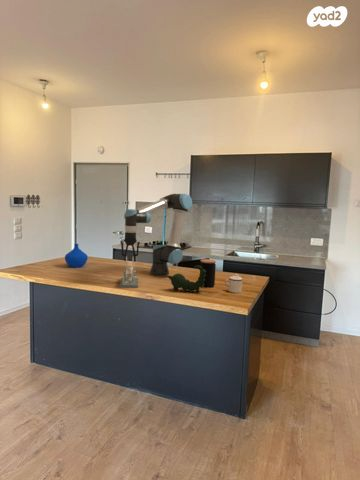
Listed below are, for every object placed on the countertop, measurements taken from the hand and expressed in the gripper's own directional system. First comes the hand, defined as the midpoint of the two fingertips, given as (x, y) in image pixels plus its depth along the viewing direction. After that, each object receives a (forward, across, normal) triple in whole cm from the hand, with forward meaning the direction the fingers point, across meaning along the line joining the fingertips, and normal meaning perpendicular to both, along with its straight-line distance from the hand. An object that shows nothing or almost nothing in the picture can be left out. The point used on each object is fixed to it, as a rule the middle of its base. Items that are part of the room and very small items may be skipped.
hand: (129, 265), depth 228 cm
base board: (+13, 0, 0) cm, 13 cm away
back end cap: (+11, 0, -9) cm, 14 cm away
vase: (+13, +46, -57) cm, 74 cm away
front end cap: (+11, 0, +9) cm, 14 cm away
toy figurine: (+13, -37, +18) cm, 43 cm away
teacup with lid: (+13, -69, +17) cm, 72 cm away
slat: (+9, 0, 0) cm, 9 cm away
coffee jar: (+13, -54, +4) cm, 56 cm away
